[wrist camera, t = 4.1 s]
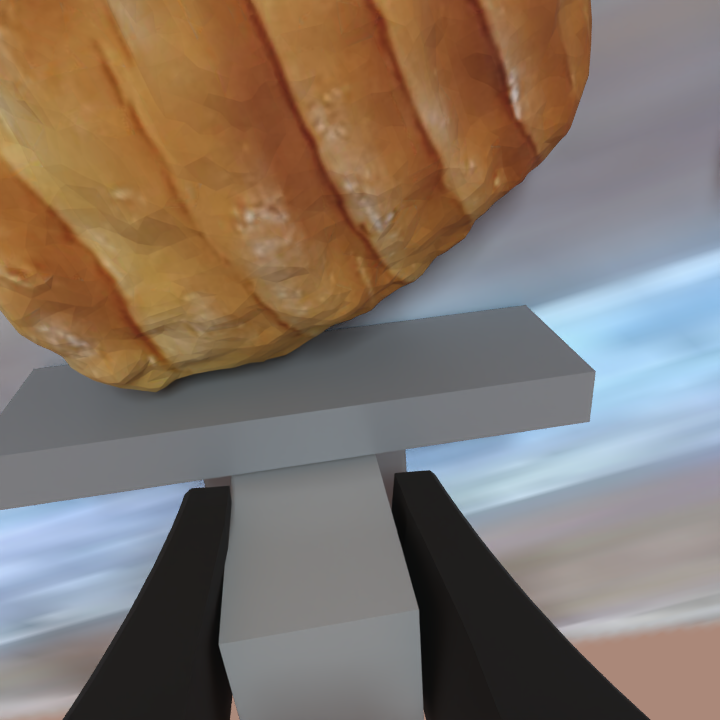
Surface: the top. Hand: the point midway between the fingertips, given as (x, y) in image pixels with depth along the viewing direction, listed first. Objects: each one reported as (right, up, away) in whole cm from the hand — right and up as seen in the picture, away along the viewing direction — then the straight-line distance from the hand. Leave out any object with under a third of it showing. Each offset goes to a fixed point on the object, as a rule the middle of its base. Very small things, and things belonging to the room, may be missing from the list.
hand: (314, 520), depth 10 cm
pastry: (-1, +7, 0) cm, 7 cm away
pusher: (0, +1, +3) cm, 3 cm away
